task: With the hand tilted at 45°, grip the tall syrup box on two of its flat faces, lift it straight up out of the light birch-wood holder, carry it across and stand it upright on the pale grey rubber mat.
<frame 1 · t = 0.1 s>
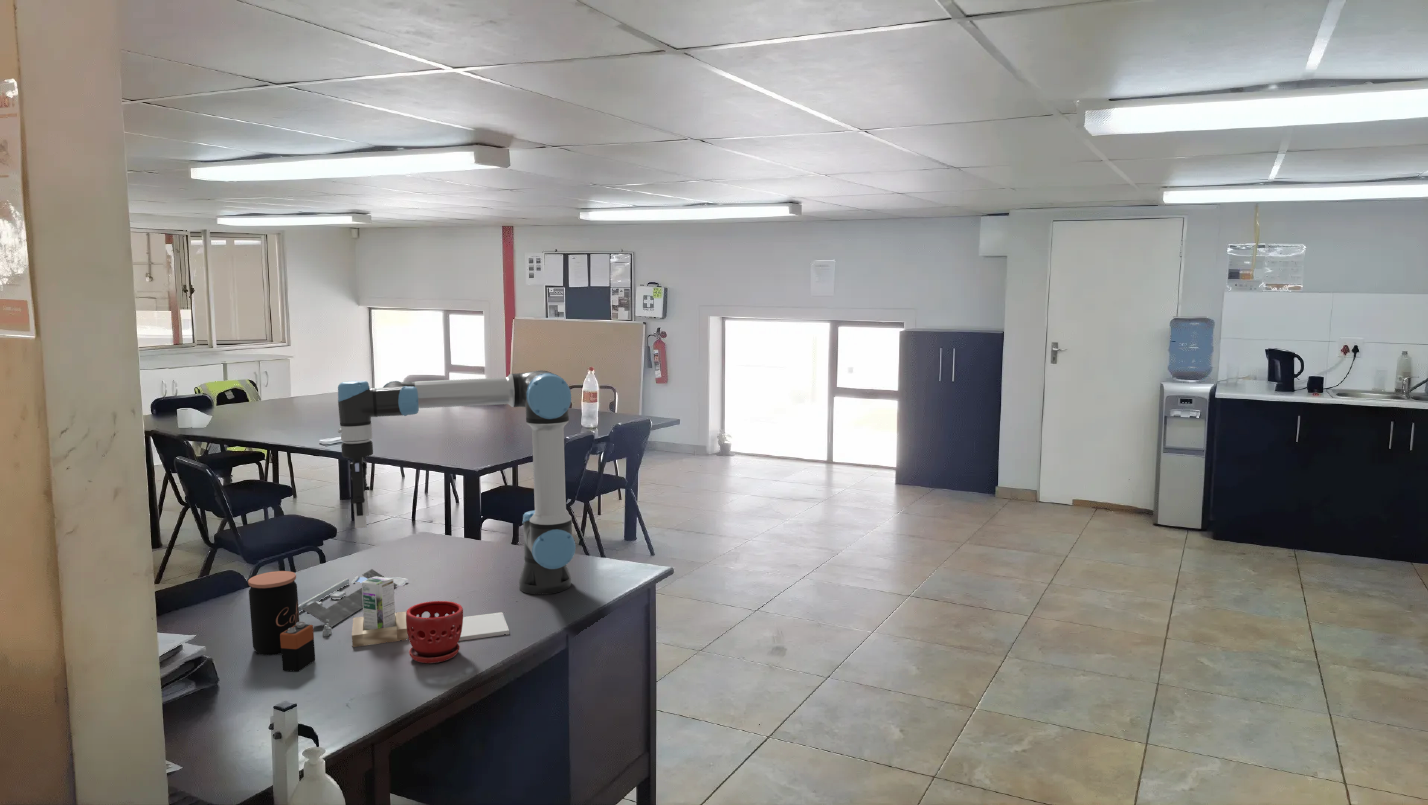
hand: (362, 521, 236), 28 cm above the table, tool pointing down, fingers open, 13 cm apart
battery: (299, 666, 214), on the table
wooden holder: (380, 634, 233), on the table
syrup box: (380, 635, 233), resting in wooden holder
coffee jar: (277, 648, 225), on the table
plant pot: (436, 656, 219), on the table
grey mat: (478, 628, 236), on the table
paper cutter: (342, 607, 255), on the table
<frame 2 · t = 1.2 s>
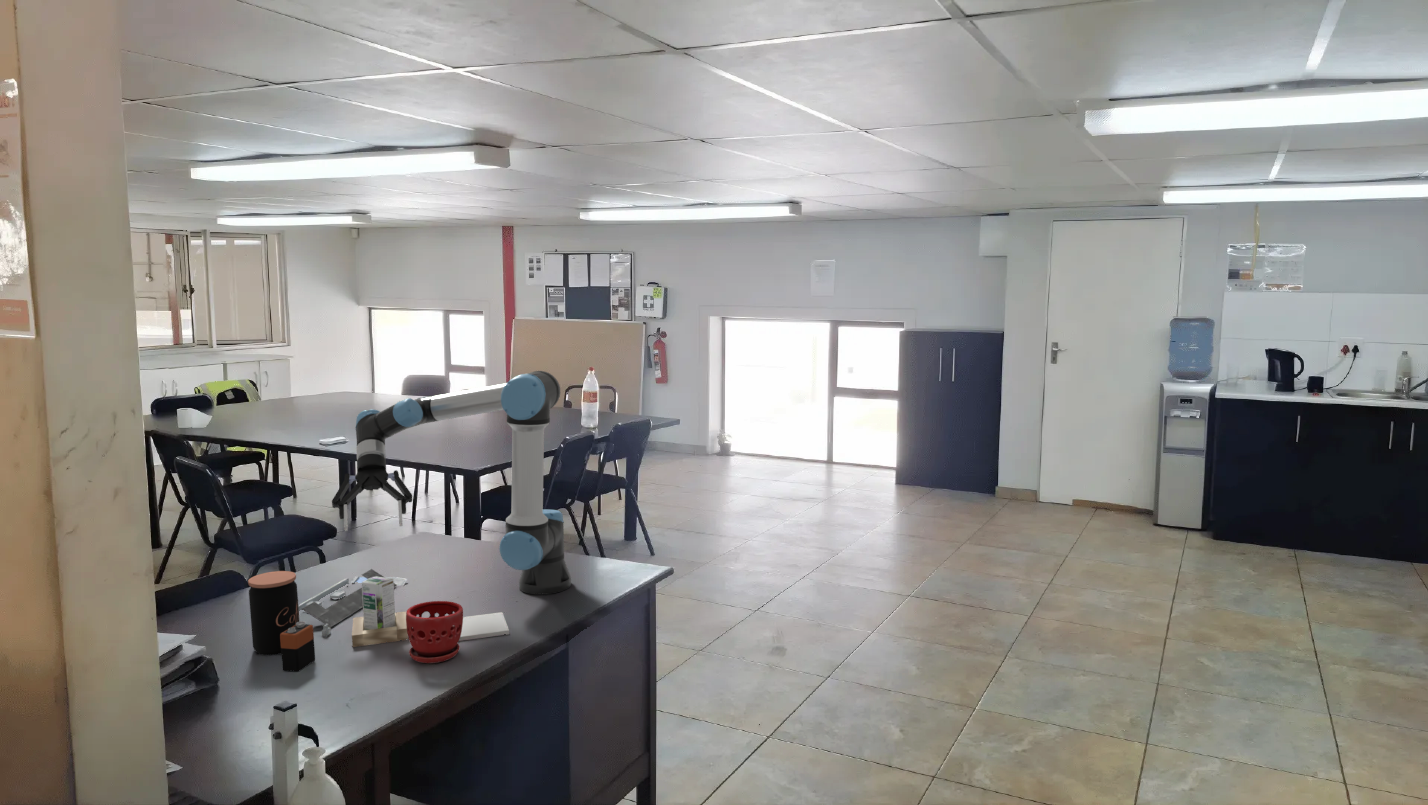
hand: (373, 526, 239), 26 cm above the table, tool tilted 45°, fingers open, 13 cm apart
nothing on the table moved.
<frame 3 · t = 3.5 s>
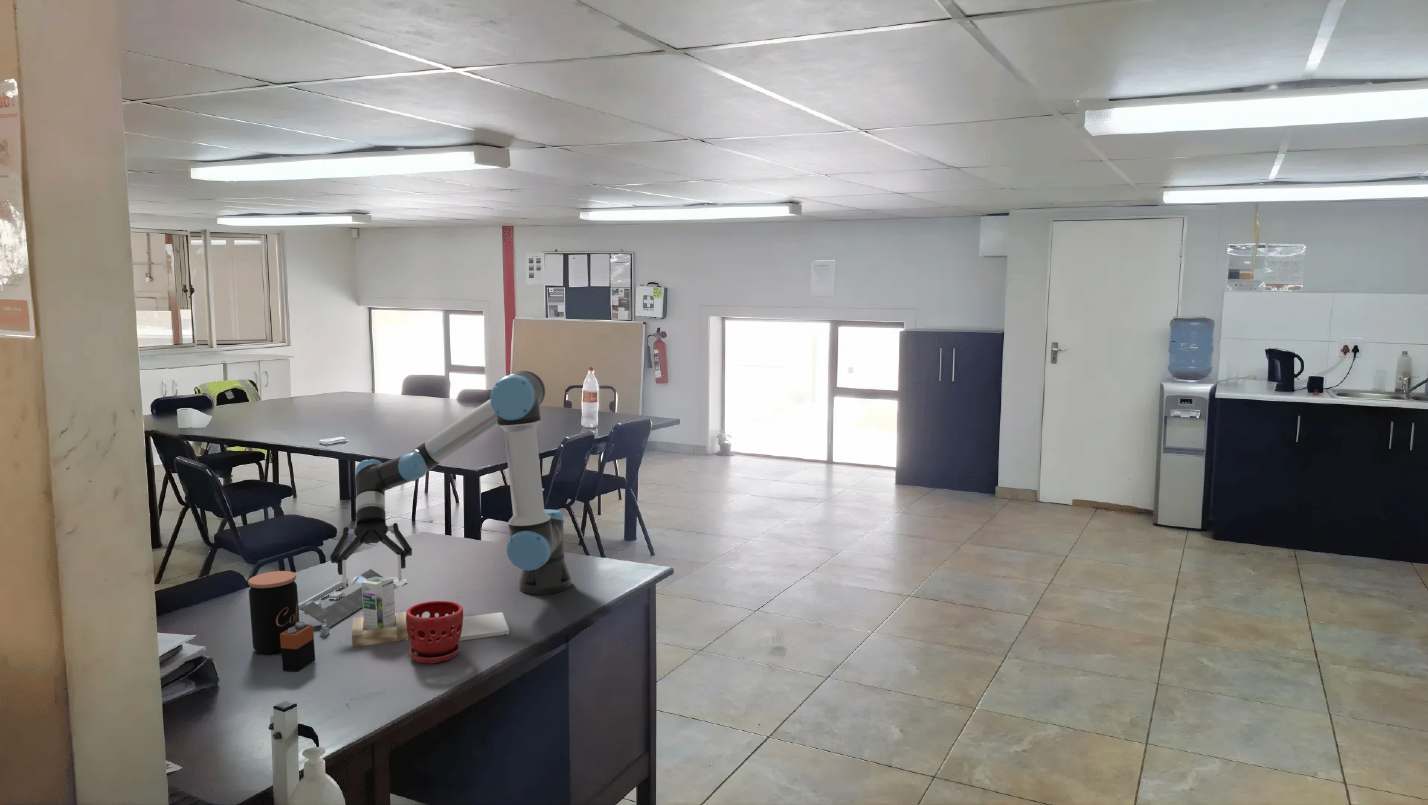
hand: (372, 582, 236), 12 cm above the table, tool tilted 45°, fingers open, 13 cm apart
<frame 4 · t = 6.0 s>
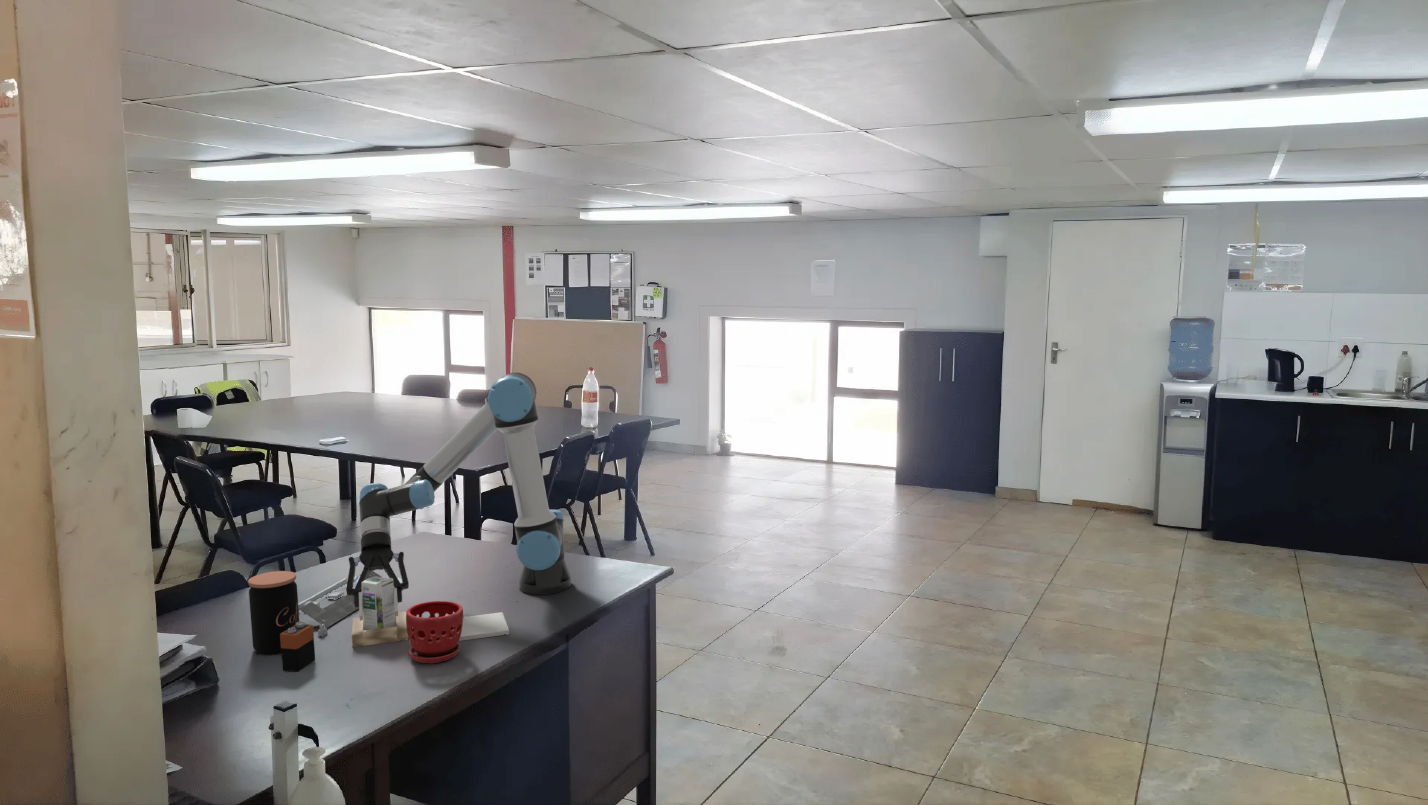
hand: (379, 615, 229), 6 cm above the table, tool tilted 45°, fingers closed on syrup box, 8 cm apart
syrup box: (380, 634, 233), resting in wooden holder, touching gripper
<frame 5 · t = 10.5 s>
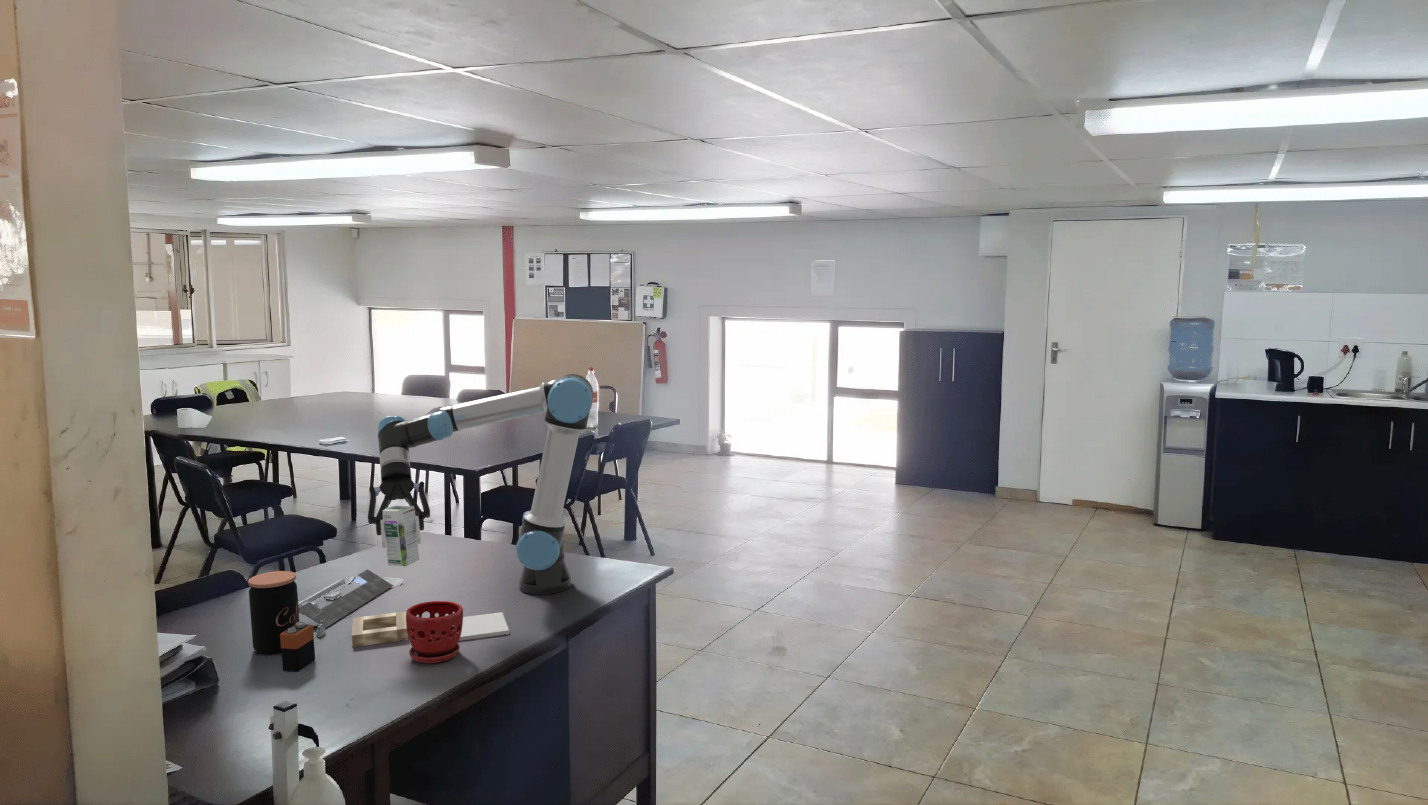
hand: (401, 542, 227), 25 cm above the table, tool tilted 45°, fingers closed on syrup box, 8 cm apart
syrup box: (404, 563, 232), point 18 cm above the table, touching gripper
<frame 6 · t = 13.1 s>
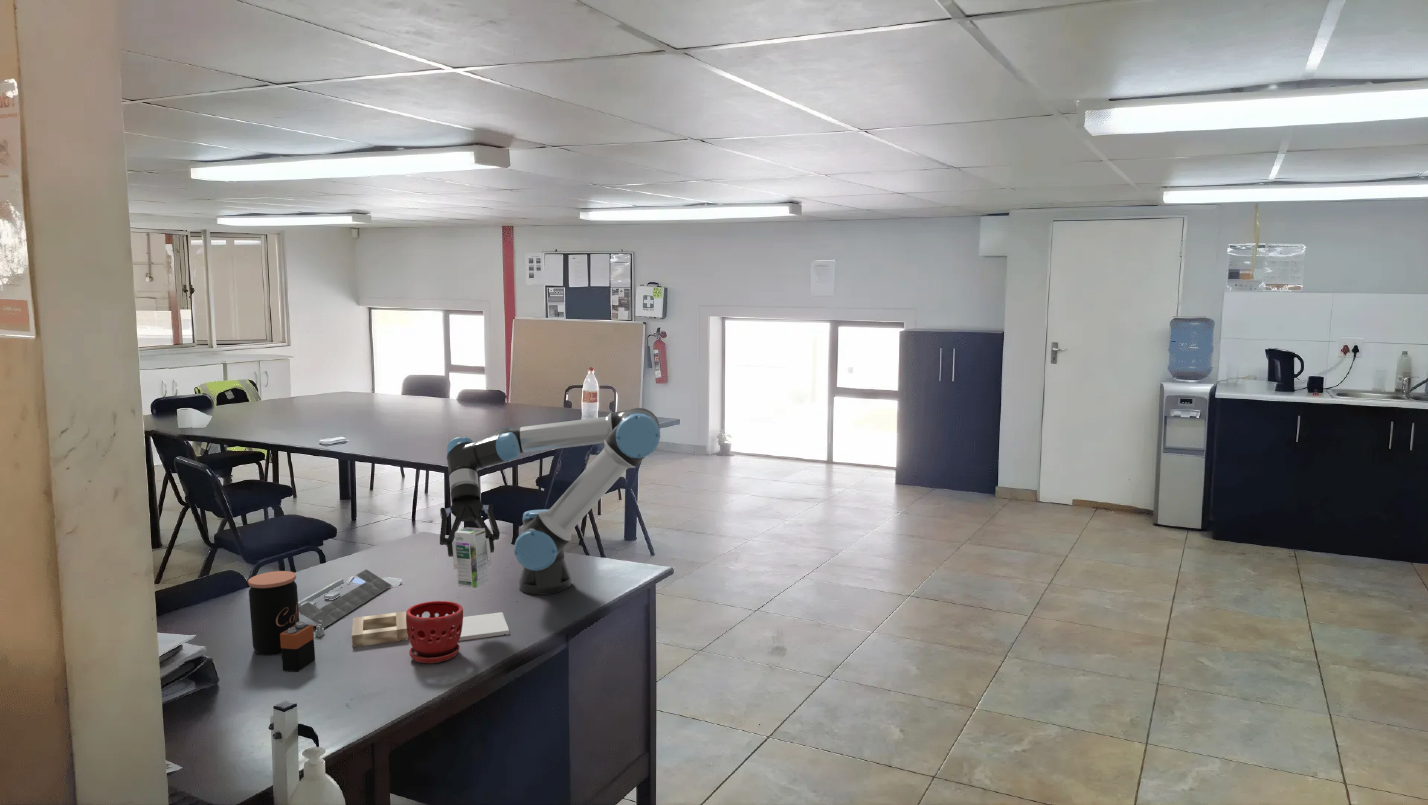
hand: (472, 564, 231), 18 cm above the table, tool tilted 45°, fingers closed on syrup box, 8 cm apart
syrup box: (473, 584, 235), point 12 cm above the table, touching gripper
when the fingers open (9 cm above the table, at t = 15.2 s): syrup box drops 1 cm, resting on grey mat.
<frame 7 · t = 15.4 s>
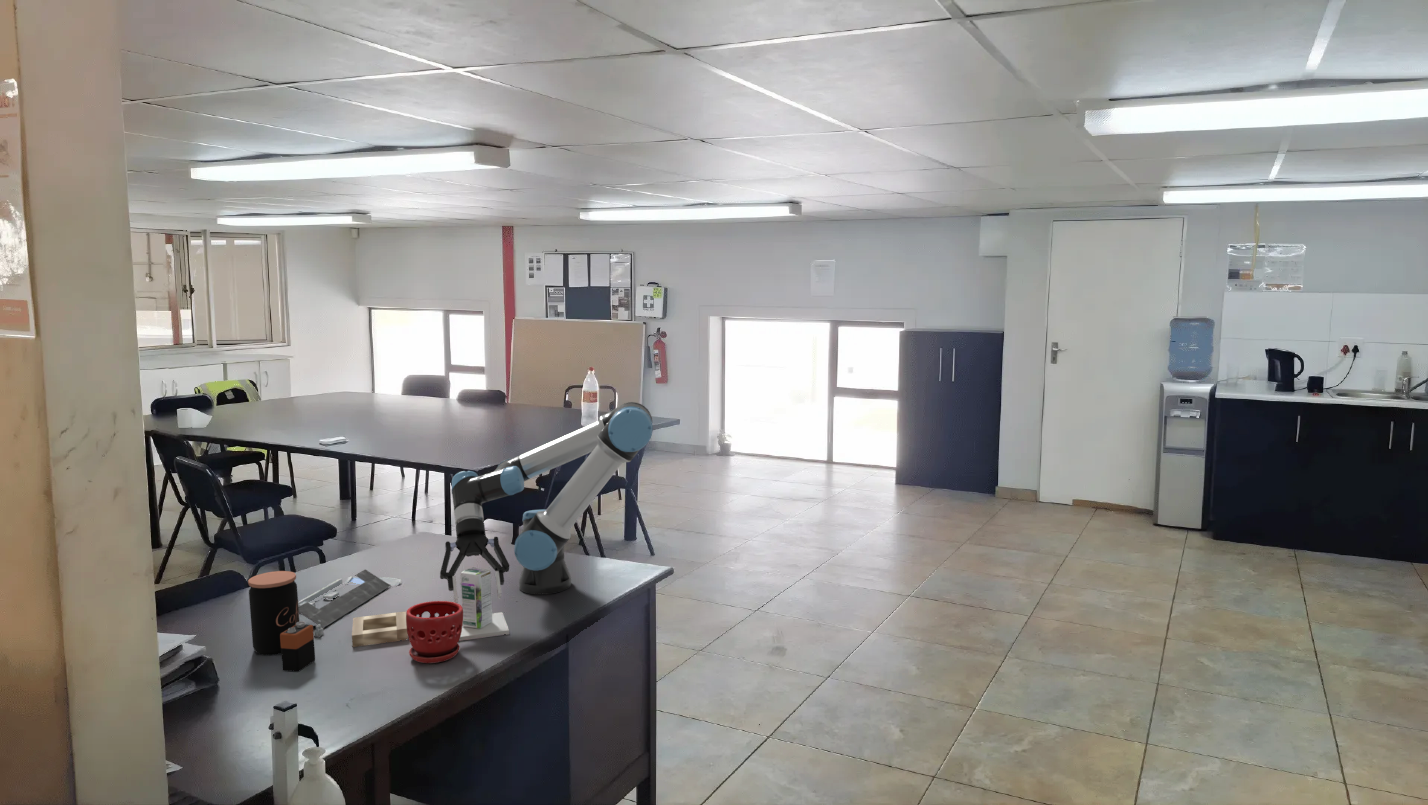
hand: (478, 598, 232), 9 cm above the table, tool tilted 45°, fingers open, 10 cm apart
syrup box: (477, 625, 236), point 1 cm above the table, touching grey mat
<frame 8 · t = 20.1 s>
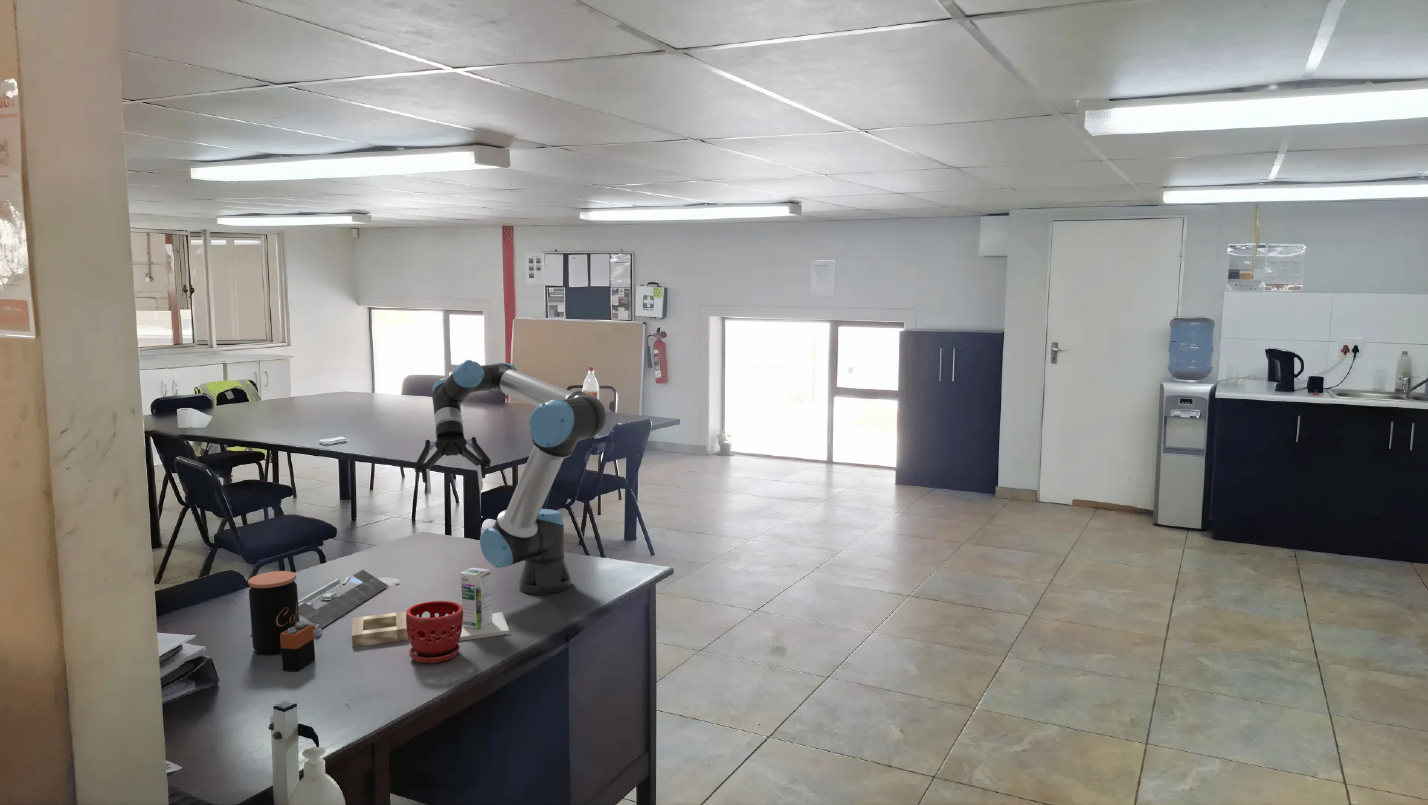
hand: (455, 489, 246), 34 cm above the table, tool tilted 45°, fingers open, 13 cm apart
at the end: syrup box inside the target area on the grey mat (0.1 cm from its centre), point 0.8 cm above the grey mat's base; syrup box tilted 0°; the gripper is holding nothing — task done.
